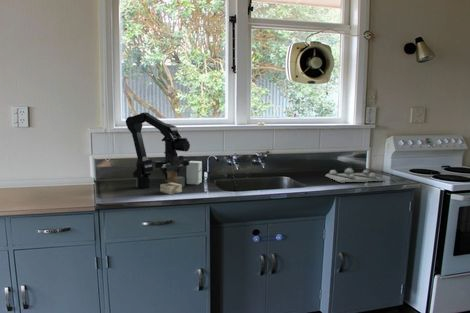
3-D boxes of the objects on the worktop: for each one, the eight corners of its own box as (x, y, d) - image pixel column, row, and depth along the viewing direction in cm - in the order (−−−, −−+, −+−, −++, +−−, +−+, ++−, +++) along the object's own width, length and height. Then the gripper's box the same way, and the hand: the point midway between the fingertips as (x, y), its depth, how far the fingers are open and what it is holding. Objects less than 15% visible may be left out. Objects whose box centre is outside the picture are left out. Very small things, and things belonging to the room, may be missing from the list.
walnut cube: (168, 182, 208) (168, 173, 207) (164, 181, 212) (164, 171, 212) (177, 181, 211) (177, 172, 210) (173, 180, 215) (173, 170, 214)
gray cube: (176, 187, 223) (176, 178, 222) (172, 185, 227) (172, 177, 226) (184, 186, 225) (184, 177, 225) (181, 184, 230) (181, 176, 229)
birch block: (169, 194, 207) (169, 187, 206) (160, 192, 212) (160, 184, 212) (181, 192, 213) (181, 184, 212) (172, 189, 218) (172, 182, 217)
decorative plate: (340, 184, 238) (340, 172, 237) (324, 177, 258) (325, 166, 257) (385, 182, 244) (386, 171, 243) (366, 176, 265) (367, 165, 264)
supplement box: (198, 184, 230) (198, 162, 228) (186, 184, 232) (186, 162, 230) (202, 182, 237) (202, 161, 235) (190, 181, 239) (190, 160, 237)
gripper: (158, 152, 198) (159, 184, 200) (193, 150, 207) (193, 180, 209) (151, 150, 207) (151, 180, 209) (184, 148, 217) (184, 176, 219)
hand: (170, 179), depth 211 cm, fingers closed on walnut cube, 5 cm apart
